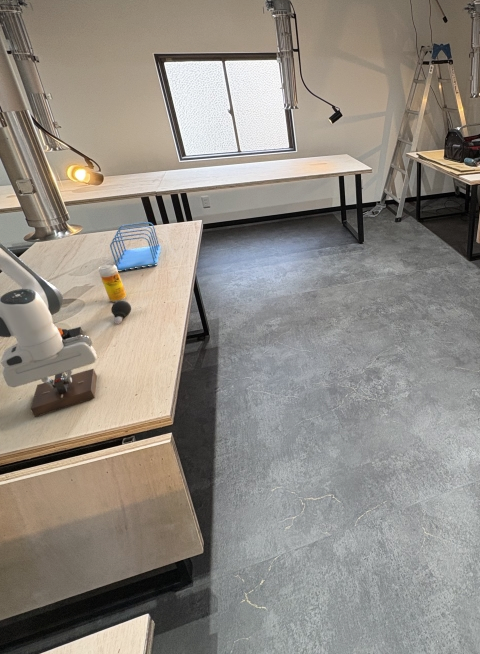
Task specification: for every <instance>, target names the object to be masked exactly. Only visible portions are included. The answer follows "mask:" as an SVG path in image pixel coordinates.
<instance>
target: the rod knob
mask: <svg viewBox="0 0 480 654" xmlns="http://www.w3.org/2000/svg"><path fill="white" fill-rule="evenodd" d="M65 376H67V374H66V373H65V372H63V373H60V374H56V375H54V379H53V380H54V385H55V387H56V389H57V391H58V393H59V394H61V393H64V392H67V385H68V384H65V382H64V377H65Z"/></svg>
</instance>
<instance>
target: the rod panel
mask: <svg viewBox="0 0 480 654" xmlns="http://www.w3.org/2000/svg"><path fill="white" fill-rule="evenodd" d="M71 378H72V383H69V384H68V385H67V392H64V393H61V394H59V393H58V391H57V389H56V388H53V389H52V388H51V386H50V385H49V384H46V383H44V382H42V383H39V384H37V385H36V388H35V391H34V395H33V399H32V400H31V401H32V402H31V405H30V411H31V413H32V415H33V417H34V418H36V417H39V416H42V415H46V414H48V413H52V412H55V411H58V410H62V409H64V408H68V407H70V406H74V405H77V404H80V403H84V402H87V401H90V400H92V399H95V397H96V388H97V378H98V375H97V372H96V371H95V368H90V369H87V370H84V371H80V372H77V373H73V374H71Z"/></svg>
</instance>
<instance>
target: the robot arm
mask: <svg viewBox="0 0 480 654" xmlns="http://www.w3.org/2000/svg"><path fill="white" fill-rule="evenodd" d="M0 271H1V272H3V273H4V274H5V275H6V276H7V277H8V278H10V279H11V280H12V281H14V283H16V284H17V285H18V286H19V287H21V288H19V289H14V290H10V291H8V292H6V293H4V294H3V295H1V296H0V338H11V337H14V338H15V339H16V343H15V344H13V345H12V346H10V347H8V348H6V349H5V350H4V352H3V353H2V355H1V358H0V364H1V366H2V367H3V368H2V375H3V379H4V381H5V383H6V385H7V386H8V387H10V388H17V387H21V386H24V385H27V384H30V383H33V382H36V381H39V380H41V382H42V383H46V384H49V385H50V386H51V388H52V389H53V388H56V387H55V385H54V379H52V378H50V377H52V376H55V375H56V374H60V373H63V372H64V373H65V375H66V376H65V377H64V382H65V384H69V383H72V378H71V375H73V374H72V373H73V370H76V369H79V368H82V367H85V366H89V365H93V364H94V363H95V362H96V361H97V358H98V354H97V351H96V350H95V348H94V347H93V342H92V338H91V337H90V336H88V335H83V334H82V335H78V336H76V337H72V338H67V339H64V340H63V339H62V337H61V335H60V333H59V331H58V329H57V328H58V327H57V326H56V325H55V324H54V321H53V315H54V314H55V315H56V314H57V313H59V312H60V310H61V308H62V305H63V301H64V299H63V298H64V297H63V294H62V293H61V291H60V290H59V289H58V288H57V286H55V285H54V284H52V283H50V282H49V281H47V280H45V279H44V278H43V277H42V276H41V275H39V274H38V273H37V272H35V271H34V270H33V269H32V268H31V267H29V266H28V265H27V264H26V263H25V262H24V261H23V260H22V259H20V258H19V257H18V256H17V255H16V254H15V253H14V252H12V250H10V249H9V248H7V247H6V246H5V245H4V244H2V243H1V242H0Z"/></svg>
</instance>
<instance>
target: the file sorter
mask: <svg viewBox="0 0 480 654" xmlns="http://www.w3.org/2000/svg"><path fill="white" fill-rule="evenodd" d="M146 224H149V225H151V226H152V227H151V226H149V225H146ZM138 225H139V226H138ZM130 226H131V227H130ZM132 226H133V227H132ZM124 227H125V228H124ZM140 228H143V229H140ZM145 228H148V229H145ZM133 229H136V230H133ZM149 229H150V230H151V231H150V230H149ZM125 230H128V231H125ZM136 232H141V233H136ZM145 232H148V233H149V234H150V235H149V234H148V233H145ZM128 233H131V234H128ZM132 233H134V234H132ZM123 234H124V235H123ZM125 234H126V235H125ZM141 235H142V236H141ZM143 235H144V236H145V237H144V236H143ZM135 236H137V237H135ZM138 236H139V237H138ZM146 236H147V237H148V238H149V239H148V238H147V237H146ZM125 237H131V238H125ZM140 239H144V240H146V241H147V243H148V246H144V247H136V248H130V249H126V246H125V242H124V241H131V240H140ZM118 243H119V244H118ZM115 245H116V246H115ZM119 246H120V247H119ZM116 247H117V249H116ZM160 247H161V248H162V245H161V244H160V243H159V239H158V237H157V232H156V228H155V225H154V224H153V223H152V222H148V221H147V222H138V223H137V222H136V223H130V224H123V225H120V226H119V228H118V230H117V231H116V233H115V235H114V238H113V239H112V240H111V242H110V244H109V248H110V250H111V254H112V257H113V259H114V264H115V266H116V267H117V270H125V269H130V268H135V267H142V266H148V265H155V264H157V262H158V264H157V265H155V266H154V267H156V266H158V265H159V260H158V257H159V258H160V255H161V252H162V249H161V250H160ZM113 249H114V250H113ZM117 250H118V251H117ZM114 252H115V253H114ZM118 253H119V254H118ZM159 253H160V255H159ZM151 267H153V266H149V267H148V268H151ZM144 268H146V267H143V268H142V269H144ZM138 269H140V268H137V269H136V270H138ZM131 270H132V271H133V269H131ZM131 270H130V271H131ZM125 271H127V270H125ZM125 271H124V272H125ZM120 272H121V271H119V272H118V273H120Z"/></svg>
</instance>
